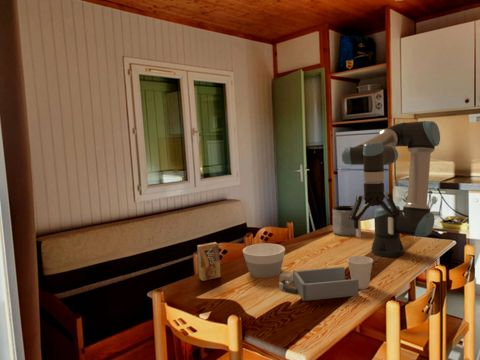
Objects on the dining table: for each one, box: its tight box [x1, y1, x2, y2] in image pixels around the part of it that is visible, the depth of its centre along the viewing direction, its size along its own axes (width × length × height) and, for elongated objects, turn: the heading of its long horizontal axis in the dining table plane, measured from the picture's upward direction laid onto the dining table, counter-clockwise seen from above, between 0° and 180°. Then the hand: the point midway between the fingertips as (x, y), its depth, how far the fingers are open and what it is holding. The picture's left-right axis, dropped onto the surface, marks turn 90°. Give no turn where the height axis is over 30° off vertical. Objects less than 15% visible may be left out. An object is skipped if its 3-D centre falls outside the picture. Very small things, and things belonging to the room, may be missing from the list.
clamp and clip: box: [278, 271, 293, 291], centre depth 160 cm, size 8×12×3 cm, turn 6°
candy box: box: [196, 241, 221, 281], centre depth 171 cm, size 9×4×15 cm, turn 116°
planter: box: [332, 205, 361, 237], centre depth 234 cm, size 16×16×16 cm
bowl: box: [242, 243, 286, 279], centre depth 175 cm, size 19×19×11 cm
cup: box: [346, 255, 374, 290], centre depth 152 cm, size 10×10×11 cm
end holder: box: [292, 266, 360, 302], centre depth 151 cm, size 21×15×6 cm
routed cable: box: [281, 280, 298, 294], centre depth 156 cm, size 5×13×1 cm, turn 6°
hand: (374, 235), depth 154 cm, fingers open, 13 cm apart
